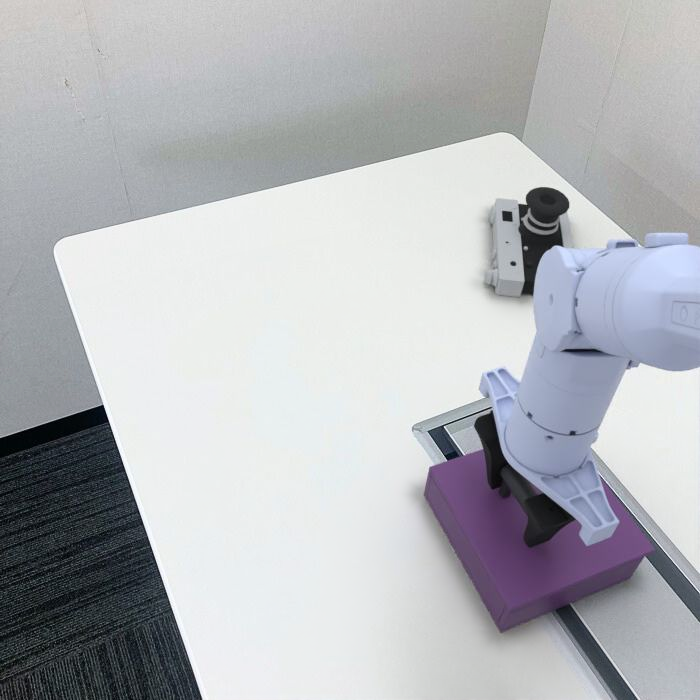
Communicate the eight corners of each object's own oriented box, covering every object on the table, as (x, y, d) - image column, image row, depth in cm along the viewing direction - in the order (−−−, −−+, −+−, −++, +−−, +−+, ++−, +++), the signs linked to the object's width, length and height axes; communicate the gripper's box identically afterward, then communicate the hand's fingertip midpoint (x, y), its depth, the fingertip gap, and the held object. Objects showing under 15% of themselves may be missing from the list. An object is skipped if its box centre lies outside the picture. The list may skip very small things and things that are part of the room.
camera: (591, 253, 79) (495, 243, 79) (573, 302, 84) (483, 293, 84) (576, 171, 89) (491, 163, 90) (561, 220, 94) (481, 212, 95)
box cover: (558, 426, 67) (571, 395, 64) (653, 553, 59) (673, 524, 55) (428, 470, 63) (434, 439, 60) (509, 612, 55) (522, 584, 52)
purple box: (541, 453, 69) (551, 429, 67) (630, 578, 61) (644, 557, 58) (423, 494, 66) (428, 471, 63) (500, 633, 57) (509, 612, 55)
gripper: (682, 468, 46) (615, 573, 56) (551, 314, 55) (514, 428, 65) (586, 504, 44) (535, 606, 54) (467, 338, 53) (442, 451, 63)
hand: (518, 511), depth 59 cm, fingers closed on box cover, 5 cm apart
